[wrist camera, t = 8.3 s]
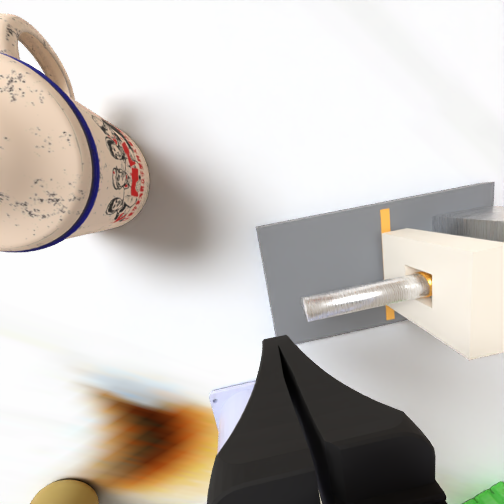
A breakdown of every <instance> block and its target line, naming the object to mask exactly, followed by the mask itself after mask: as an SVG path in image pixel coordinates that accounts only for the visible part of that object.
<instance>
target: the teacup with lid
mask: <svg viewBox="0 0 504 504" xmlns="http://www.w3.org/2000/svg"><path fill="white" fill-rule="evenodd" d="M18 40H19V41H20V42H21V43H22V44H23V45H24V46H25V47H26V48H27V49H28V50H29V51H30V53H31V54H32V55H33V56H34V58H35V59H36V61H37V62H38V63H39V65H40V66H41V68H42V70H43V72H44V73H45V75H44V74H43V73H41V72H40V71H39V70H37V69H35V68H34V67H32V66H30V65H29V64H27V63H25V62H23V61H21V60H20V58H19V52H18ZM149 186H150V178H149V171H148V167H147V164H146V161H145V159H144V156H143V155H142V153H141V151H140V149H139V148H138V146H137V145H136V144H135V143H134V141H133V140H132V139H131V138H130V137H129V136H128V135H126V134H125V133H124V132H123V131H121V130H120V129H118V128H117V127H115V126H114V125H112V124H111V123H109V122H108V121H106V120H104V119H103V118H101V117H100V116H98V115H97V114H95V113H94V112H92V111H91V110H89V109H87V108H86V107H84V106H83V105H81V104H80V103H78V102H77V101H75V98H74V93H73V90H72V86H71V83H70V80H69V78H68V75H67V73H66V71H65V69H64V67H63V65H62V63H61V61H60V60H59V58H58V56H57V55H56V53H55V52H54V50H53V49H52V48H51V46H50V45H49V44H48V42H47V41H46V40H45V39H44V37H43V36H42V35H41V34H40V33H39V32H38V31H37V30H36V29H35V28H34V27H33V26H32V25H30V24H29V23H28V22H27V21H25V20H23V19H22V18H20V17H18V16H15V15H11V14H0V251H2V252H29V251H35V250H40V249H44V248H47V247H50V246H52V245H55V244H57V243H59V242H61V241H63V240H64V239H68V238H72V237H76V236H81V235H85V234H90V233H94V232H99V231H103V230H108V229H112V228H116V227H119V226H122V225H124V224H126V223H127V222H129V221H131V220H132V219H133V218H134V217H135V216H136V215H137V214H138V213H139V212H140V211H141V209H142V208H143V206H144V204H145V202H146V200H147V197H148V193H149Z"/></svg>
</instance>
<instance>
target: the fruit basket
mask: <svg viewBox="0 0 504 504" xmlns="http://www.w3.org/2000/svg"><path fill="white" fill-rule="evenodd" d="M463 504H504V483H503V482H499V483H497V484H496V485H494V486H492V487H491V488H490V490H489V489H488V490H485V491H484V492H482V493H480V494H479V495H477V496H476V497H475V498H474V499H470V500H468V501H467V502H465V503H463Z"/></svg>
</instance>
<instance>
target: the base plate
mask: <svg viewBox="0 0 504 504" xmlns="http://www.w3.org/2000/svg"><path fill="white" fill-rule="evenodd" d="M493 201H494V182H487V183H478V184H473V185H468V186H463V187H457V188H452V189H447V190H442V191H437V192H432V193H427V194H422V195H416V196H411V197H406V198H401V199H396V200H391V201H386V202H381V203H375V204H370V205H365V206H360V207H355V208H350V209H345V210H339V211H334V212H329V213H324V214H319V215H314V216H309V217H304V218H298V219H293V220H288V221H283V222H278V223H273V224H268V225H263V226H257V227H256V230H257V235H258V241H259V246H260V252H261V257H262V263H263V268H264V274H265V279H266V285H267V290H268V296H269V302H270V307H271V313H272V318H273V324H274V329H275V335H276V337H278V336H282V335H287V336H289V338H290V339H291V340H292V341H293V342H294V344H299V343H304V342H308V341H313V340H317V339H322V338H326V337H331V336H336V335H340V334H345V333H349V332H354V331H358V330H363V329H367V328H372V327H377V326H381V325H386V324H390V323H395V322H399V321H404V320H408V319H407V318H405V317H404V316H402V315H401V314H399V313H398V312H396V311H395V310H393V309H392V308H390V307H389V306H387V305H384V306H380V307H375V308H370V309H366V310H361V311H356V312H352V313H347V314H342V315H338V316H333V317H328V318H324V319H319V320H314V321H310V322H307V321H306V319H305V317H304V314H303V310H302V306H301V297H306V296H310V295H315V294H320V293H325V292H329V291H334V290H339V289H344V288H348V287H353V286H358V285H363V284H367V283H372V282H377V281H382V280H384V266H383V248H382V233H385V232H390V231H395V230H400V229H405V228H410V229H417V230H424V231H430V232H432V216H436V215H441V214H446V213H451V212H456V211H461V210H466V209H471V208H476V207H481V206H493Z"/></svg>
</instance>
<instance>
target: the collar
mask: <svg viewBox="0 0 504 504" xmlns="http://www.w3.org/2000/svg"><path fill="white" fill-rule="evenodd" d="M382 248H383V266H384V280H386V279H391V278H396V277H401V276H405V275H410V274H414V273H416V272H421V271H424V272H426V273H429V274H432V296H429V297H421V298H417V299H412V300H407V301H403V302H398V303H393V304H389V305H387V306H389V307H390V308H392V309H393V310H395V311H396V312H398V313H399V314H401V315H402V316H404V317H405V318H407V319H408V320H410V321H411V322H413V323H414V324H416V325H417V326H419V327H420V328H422V329H423V330H425V331H426V332H428V333H429V334H431V335H432V336H434V337H435V338H437V339H438V340H440V341H441V342H443V343H444V344H446V345H447V346H449V347H450V348H452V349H453V350H455V351H456V352H458V353H459V354H461V355H462V356H464V357H465V358H467V359H468V360H473V359H477V358H481V357H486V356H490V355H494V354H499V353H503V352H504V242H497V241H491V240H484V239H477V238H470V237H464V236H457V235H450V234H444V233H437V232H430V231H424V230H417V229H410V228H405V229H400V230H395V231H390V232H385V233H382Z"/></svg>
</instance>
